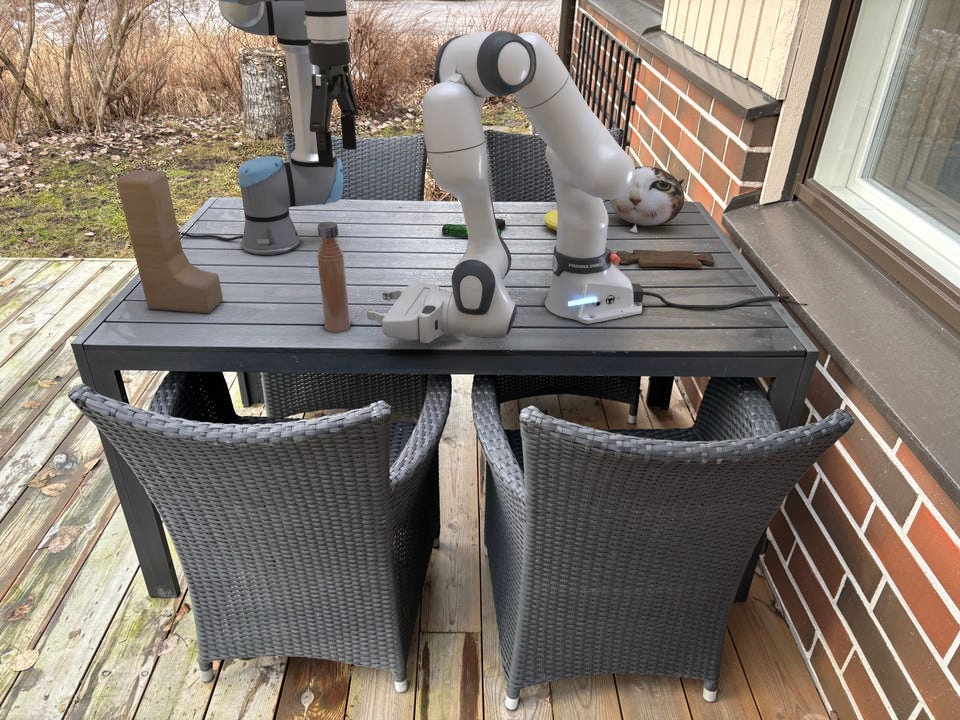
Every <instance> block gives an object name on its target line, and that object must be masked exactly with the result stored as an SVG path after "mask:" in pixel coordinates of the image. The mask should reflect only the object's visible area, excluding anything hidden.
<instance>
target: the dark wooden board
mask: <svg viewBox="0 0 960 720" xmlns="http://www.w3.org/2000/svg"><path fill="white" fill-rule="evenodd" d="M615 254H617V256H618V257H619V258H620V262H619V263H618V264H620V265H631V264H634V263H637V264H638V267H640V268H654V267H657V268H659V267H660V268H661V267H662V268H663V267H667V268H687V269H688V268H689V269H700V268H702V267H703V265H707V266H714V264H715V260H714V257H713V255H712V253H710V252H709V253H708V252H707V253H701V254H694V250H657V249H655V250H654V249H653V250H652V249H632V252H628V251H626V250H617V251H616V252H615Z"/></svg>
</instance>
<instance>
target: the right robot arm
mask: <svg viewBox="0 0 960 720" xmlns="http://www.w3.org/2000/svg"><path fill="white" fill-rule="evenodd" d="M434 61H435V62H434V75H433V80H432V82H433V86H431V87H430V88H429V89H428V90H427V91H426V93H425V94H424V96H423V99H422V128H423V137H424V145H425V150H426V157H427V161H428V166H429V170H430V173H431V175H432V177H433V180H434V182H435V184H436V185H437V186H438V187H439V188H440V189H441V190H443V191H444V192H446V193H447V194H451V195H454V196H455V197H456V198H457V199H458V201H459V203H460V205H461V209H462V213H463V218H464V223H465V226H466V228H467V232H468V237H467V245H466V248H465V252H464V253H463V255H462V256H461V258H460V259H459V260H458V262H457V263H456V265H455V267H454V268H453V270H452V273H451V290H452V291H448V290H446V289H445V288H441V286H440V285H437V284H435V283H429V282H423V281H417V280H415V281H410V282H409V283H408V284H407V286H406V287H405V288H399V289H394V290H390V289H389V290H386V289H385V290H384V291H383V293H382V294H381V295H382V300H383V301H388V302H391V301H393V300H396V301H395V302H394V304H393V305H391V308H390V309H389V310H388V311H387V312H382V313H381V312H380V311H378V309H375V308H374V309H373V308H370V309H369V310H368V311H367V312H366V318H367V320H369V321H375V322H376V323H378V324H380V325H381V329H382V331H381V332H382V334H383V335H384V336H386V337H387V338H391V339H398V340H404V341H416V340H419V343H422V344H430V343H432V342H433V341H434V340H436V339H437V338H440V337H442V336H444V335H456V334H457V335H458V334H461V335H465V336H467V337H470V338H478V339H502V338H506V337H507V336H508V335H509V334H510V332H511V331H512V329H513V326H514V322H515V320H516V317H517V316H516V315H517V311H518V306H517V302H515V301H514V300H513V299H512V297H511V295H510V294H509V292H508V290H507V288H506V286H505V282H504V279H505V278H506V276H507V275H508V274H509V272H510V270H511V267H512V255H511V251H510V250H509V249H510V248H509V247H508V246H507V244H506V242H505V241H504V239H503V237H502V234H501V235H500V233H499V230H498V227H497V222H496V219H497V217H496V213H495V208H494V201H493V198H492V192H491V187H490V178H489V165H488V164H489V163H488V153H487V145H486V138H485V131H484V127H483V122H482V113H483V107H484V104H485V102H486V99H485V98H490V97H507V96H511V95H513V97H514V98H515V100H516V102H517V104H518V105H519V106H520V108H521V110H522V111H523V113H524V114H525V116H526V118H527V119H528V121H529V122H530V124H531V125H532V127H533V129H534V130H535V132H536V133H537V135H538V136H539V137H540V139H541V140H542V141H543V142H544V143H545V144H546V147H545V160H546V163H547V165H548V167H549V170H550V173H551V177H552V181H553V183H552V184H553V189H554V195H555V201H556V202H555V203H556V209H557V213H558V221H557V231H556V238H555V245H554V246H553V253H552V261H551V269H552V270H551V271H552V277H551V281H550V286H549V290H548V293H547V296H546V298H545V300H544V306H545V308H546V309H547V310H548V311H549V312H550V313H552V314H554V315H556V316H558V317H562V318H565V319H571V320H575V321H577V322H580V323H582V324H584V325H585V324H586V325H591V324H596V323H601V322H606V321H611V320H615V319H620V318H625V317H631V316H635V315H640V314H642V312H643V304H642V303H643V300H644V296H649V297H654V298H657V299H659V300H660V301H661V302H662V304H664V305H666V306H669V307H672V308H679V309H691V310H692V309H695V310H722V309H729V308H734V307H738V306H741V305H744V304H748V303H754V302H759V301H766V300H790V299H789V296H790V295H764V296H759V297H753V298H752V297H751V298H747V299H743V300H740V301H736V302H733V303H728V304H720V305H719V304H718V305H700V304H699V305H696V304H678V303H673V302H670V301H667V300H666V299H665V298H664V297H663V296H662V295H660V294H658V293H655V292H651V291H645V290H643V288H642V285H641V284H640V283H632V282H631V280H630V278H629V277H628V275H626V274H625V273H624V272H622V271H621V270H620V269H619V268H618V267H616V266H617V265H618V264H619V262H620V258H619V257H618V256H617V254H616V253H613V251H612V250H611V249H609V248H608V247H607V238H608V229H609V214H608V210H607V209H606V207H605V204H604V200H609V201H610V200H612V199H617V198H619V197H621V196H622V195H624V194H625V193H626V192H627V191H628V190H629V188H630V187H631V185H632V183H633V181H634V178H635V167H636V165H635V163H634V160H633V159H632V158H631V156H630V155H629V154H627V152H626V151H625V150H624V149H623V148H622V147H621V146H620V145H619V143H618V142H617V141H616V140H615V138H614V137H613V135H612V134H611V133H610V131H609V129H607V127H606V126H605V125H604V124H603V123H602V121H601V120H600V118H598V116H597V115H596V114H595V112H594V111H593V110H592V109H591V108H590V106H589V105H588V103H587V102H586V100H585V99H584V97H583V95H582V94H581V92H580V90H579V88H578V87H577V85H576V82H575V81H574V80H573V78H572V76H571V74H570V73H569V70H568V69H567V67H566V66H565V64H564V62H563V61H562V60H561V57H560V56H559V55H558V54H557V53H556V50H554V48H553V47H552V46H551V45H550V44H549V42H548V41H547V40H546V39H545V38H544V37H543V36H542V35H541V34H540V33H537V32H534V31H524V32H521V33H517V34H516V33H514V32H511V31H507V30H496V31H493V30H483V31H482V30H479V31H474V32H472V33H468V34H460V35H456V36H453V37H451V38H449V39H448V40H446V41H444V43H442V45H441V46H440V47H439V49H438V50H437V53H436V56H435V60H434Z"/></svg>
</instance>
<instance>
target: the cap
mask: <svg viewBox="0 0 960 720" xmlns="http://www.w3.org/2000/svg"><path fill="white" fill-rule="evenodd" d="M317 232H318V237H319V238H321V239H322V238H325V239H330V238H335V239H336V237H338V236H339V227H338V223H337V222H335V221H323V222H320V223H318V224H317Z"/></svg>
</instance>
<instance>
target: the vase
mask: <svg viewBox="0 0 960 720" xmlns="http://www.w3.org/2000/svg"><path fill="white" fill-rule="evenodd" d="M557 221H558V213H557V208H556V209H552V210H549V211H548V212H547V213H545V214H544V216H543V222H544V225H545V226H546V227H548V228H550V229H551V230H554V231H556V232H557Z"/></svg>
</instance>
